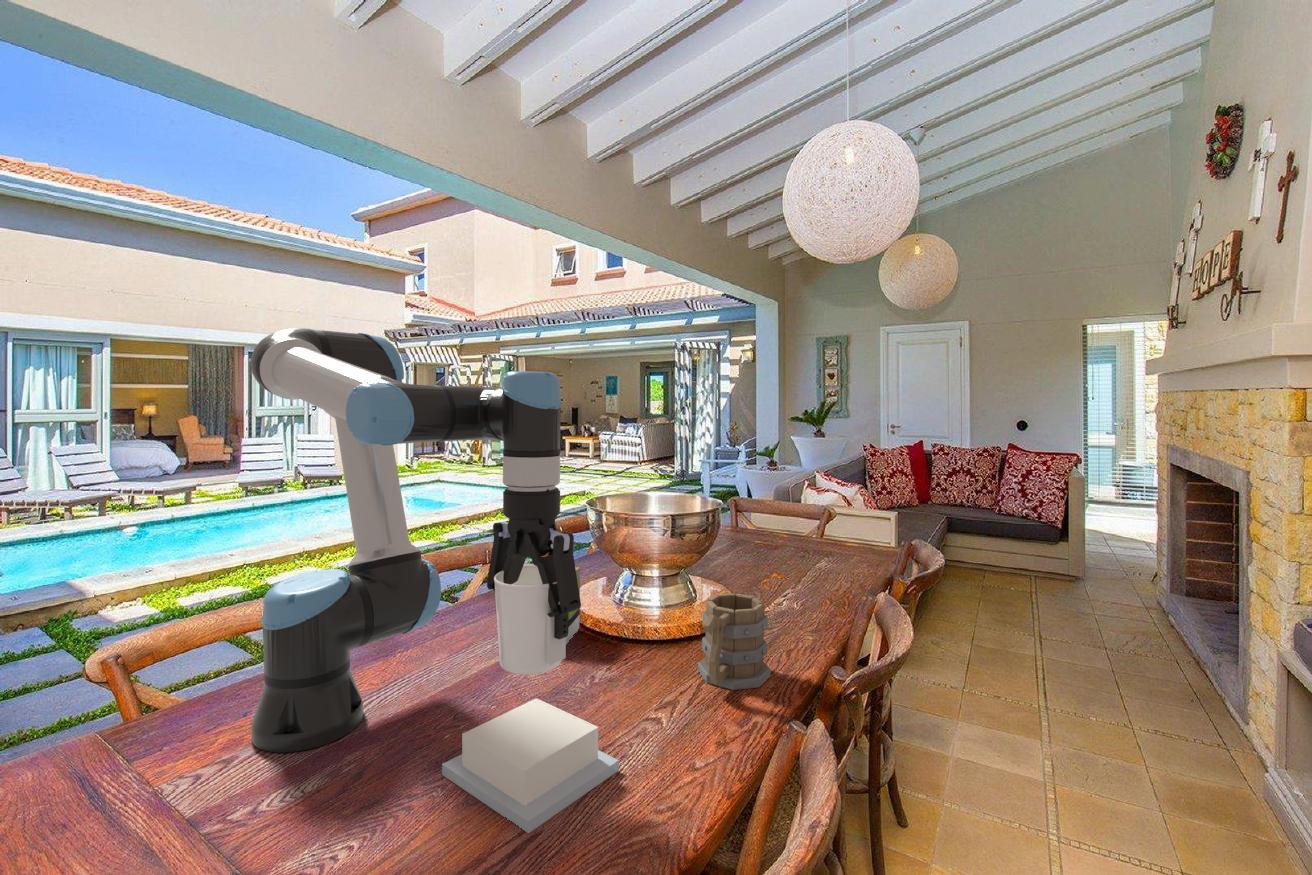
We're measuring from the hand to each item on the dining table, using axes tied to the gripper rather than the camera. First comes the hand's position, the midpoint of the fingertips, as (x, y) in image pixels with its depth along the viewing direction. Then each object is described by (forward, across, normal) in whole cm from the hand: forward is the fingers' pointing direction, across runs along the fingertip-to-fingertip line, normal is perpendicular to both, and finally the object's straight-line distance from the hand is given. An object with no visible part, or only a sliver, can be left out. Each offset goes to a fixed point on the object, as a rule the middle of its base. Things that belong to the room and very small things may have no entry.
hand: (531, 650), depth 83 cm
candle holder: (+2, 0, 0) cm, 2 cm away
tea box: (+17, +37, -34) cm, 53 cm away
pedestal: (+17, 0, 0) cm, 17 cm away
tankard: (+17, -6, -41) cm, 45 cm away
